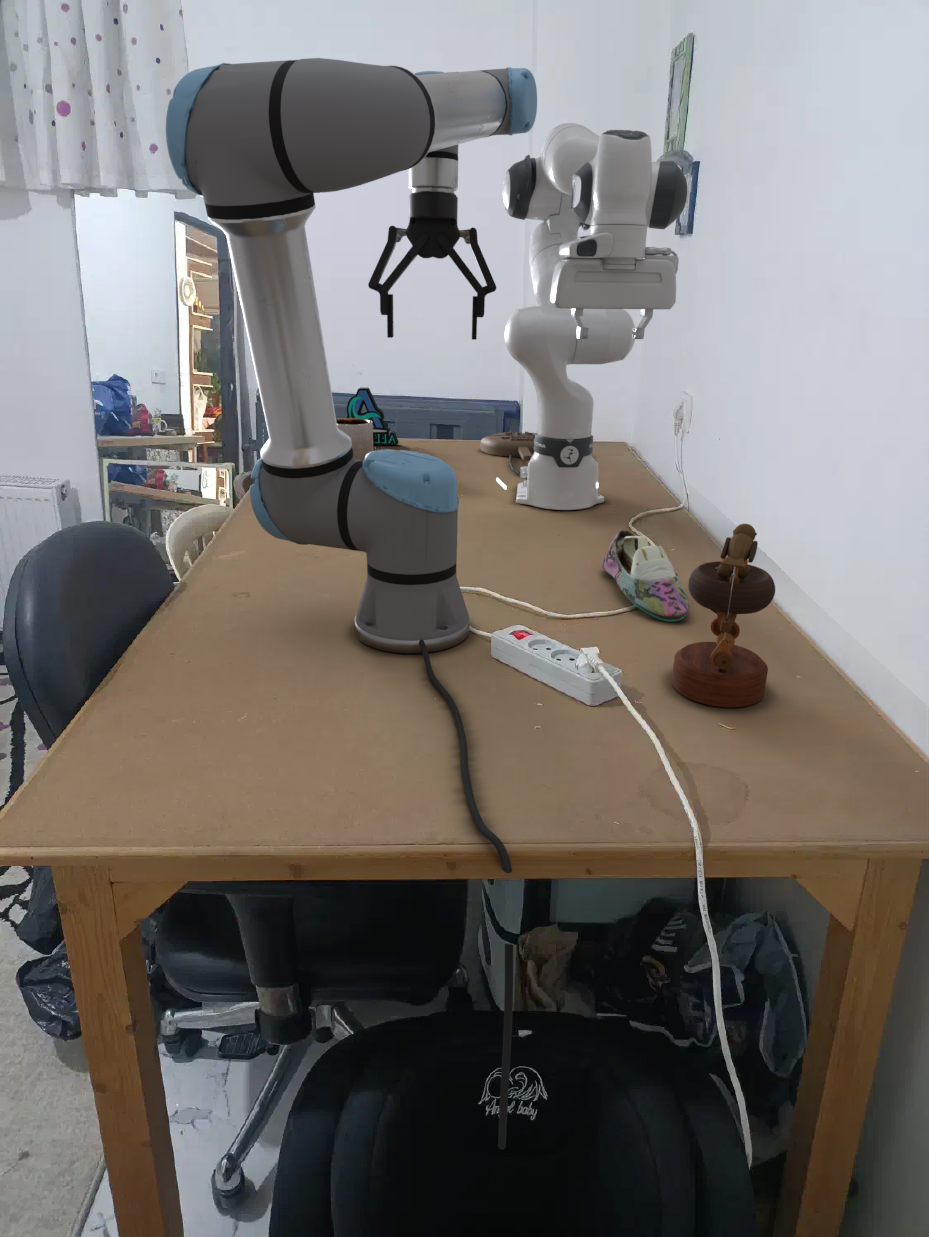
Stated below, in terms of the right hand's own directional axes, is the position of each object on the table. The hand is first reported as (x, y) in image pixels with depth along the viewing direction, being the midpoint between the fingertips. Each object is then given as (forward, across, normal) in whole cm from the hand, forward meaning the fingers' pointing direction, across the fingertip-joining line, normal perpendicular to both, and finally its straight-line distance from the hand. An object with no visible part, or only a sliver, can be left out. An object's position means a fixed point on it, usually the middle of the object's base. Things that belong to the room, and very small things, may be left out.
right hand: (610, 339), depth 138 cm
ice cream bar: (+35, -4, -78) cm, 85 cm away
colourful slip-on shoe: (+35, +1, +26) cm, 43 cm away
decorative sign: (+35, +36, -97) cm, 109 cm away
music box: (+35, +2, +56) cm, 66 cm away
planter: (+35, +40, -75) cm, 92 cm away
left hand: (0, +29, -4) cm, 29 cm away
